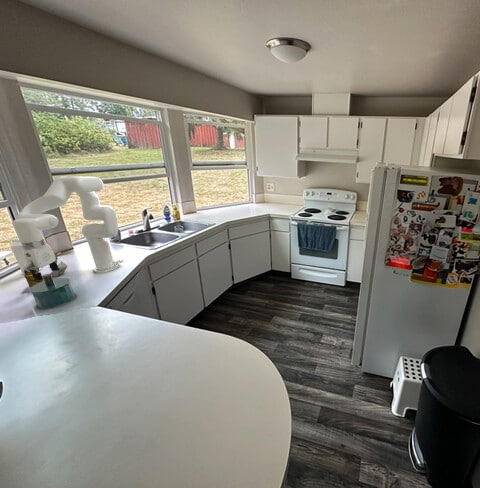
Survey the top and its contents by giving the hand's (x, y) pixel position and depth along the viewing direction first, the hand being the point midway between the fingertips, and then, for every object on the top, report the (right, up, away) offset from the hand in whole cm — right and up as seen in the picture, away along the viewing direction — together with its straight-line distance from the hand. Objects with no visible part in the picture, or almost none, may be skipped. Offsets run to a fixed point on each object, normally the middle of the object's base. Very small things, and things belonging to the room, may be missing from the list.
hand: (47, 275), depth 126 cm
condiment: (-25, -10, +16) cm, 31 cm away
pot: (0, -15, +5) cm, 15 cm away
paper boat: (-30, -3, +34) cm, 45 cm away
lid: (0, -6, +1) cm, 6 cm away
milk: (-49, -2, +35) cm, 60 cm away
